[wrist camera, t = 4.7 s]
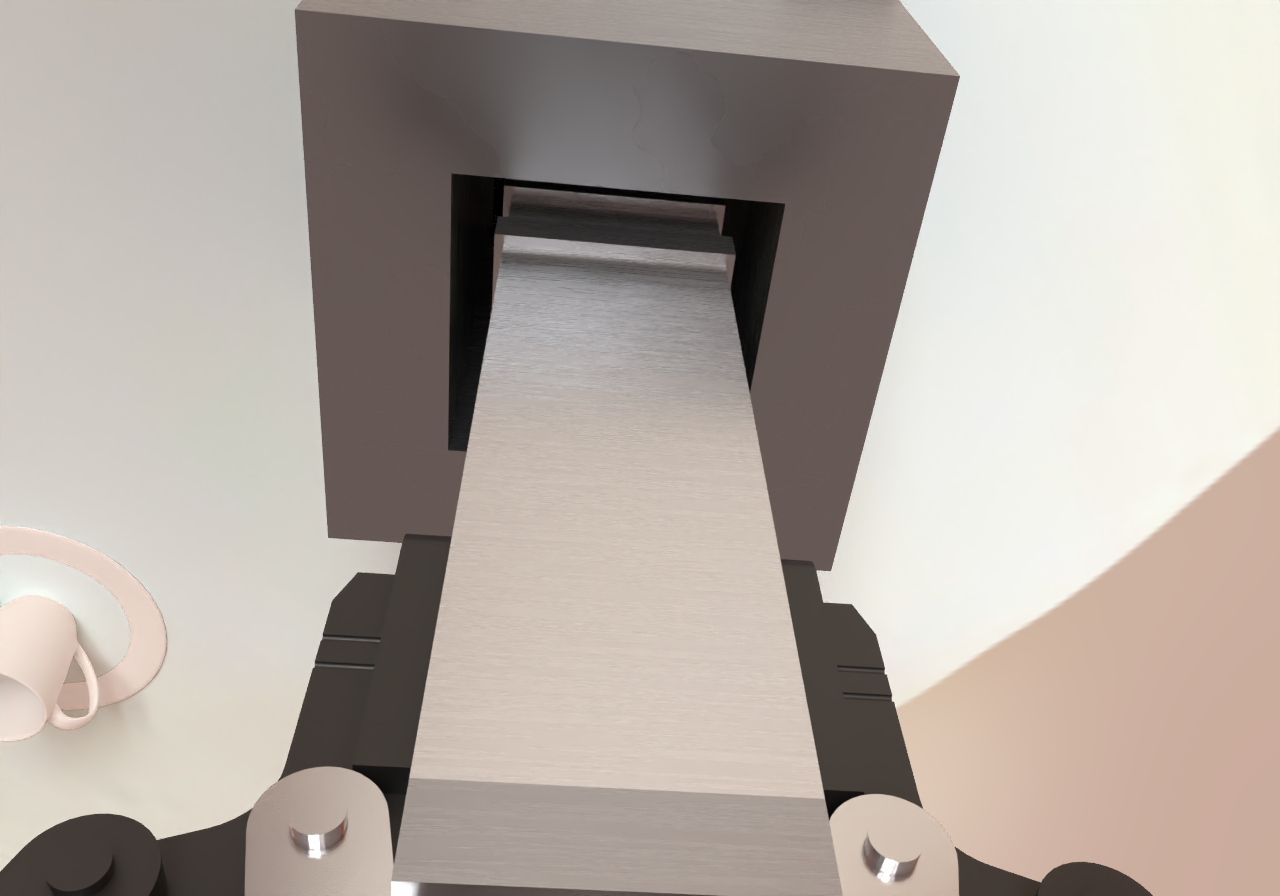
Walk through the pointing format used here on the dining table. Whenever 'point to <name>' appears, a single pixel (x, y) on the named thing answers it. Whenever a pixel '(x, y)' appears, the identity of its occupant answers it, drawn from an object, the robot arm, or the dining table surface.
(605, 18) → the housing
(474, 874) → the column
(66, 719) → the teacup and saucer
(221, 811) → the dining table surface
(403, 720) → the robot arm
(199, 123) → the dining table surface
